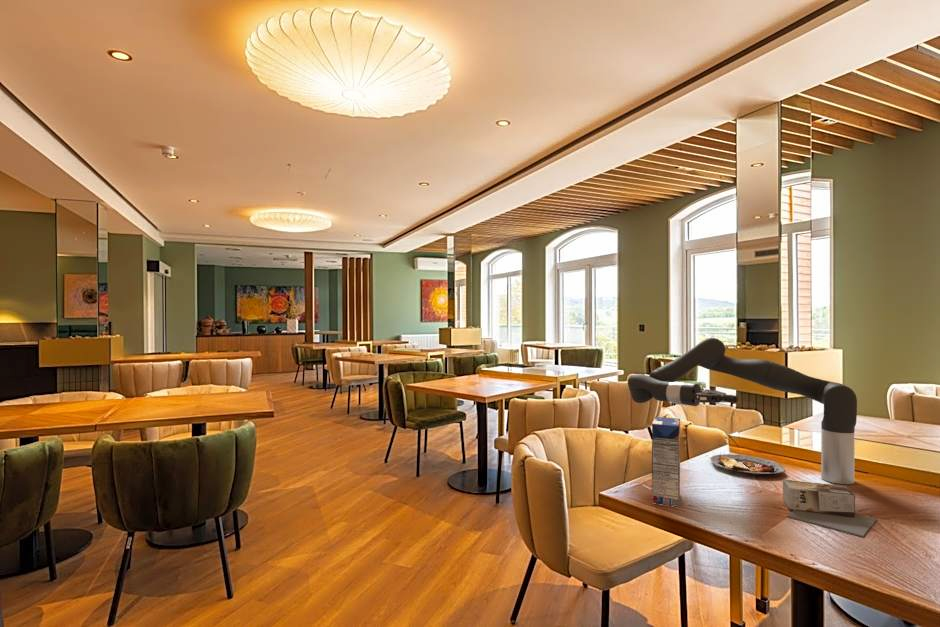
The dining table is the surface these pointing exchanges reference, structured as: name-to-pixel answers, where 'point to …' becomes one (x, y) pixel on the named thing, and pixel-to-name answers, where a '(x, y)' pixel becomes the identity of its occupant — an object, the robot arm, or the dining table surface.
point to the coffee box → (819, 498)
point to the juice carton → (666, 461)
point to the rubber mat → (836, 521)
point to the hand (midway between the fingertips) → (737, 399)
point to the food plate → (747, 464)
